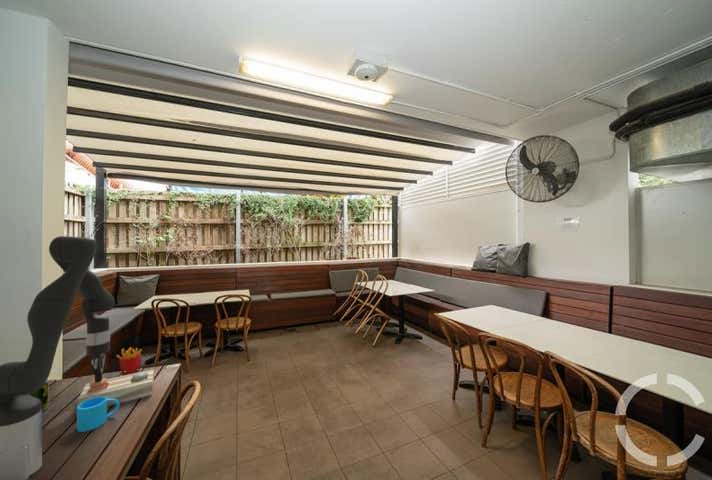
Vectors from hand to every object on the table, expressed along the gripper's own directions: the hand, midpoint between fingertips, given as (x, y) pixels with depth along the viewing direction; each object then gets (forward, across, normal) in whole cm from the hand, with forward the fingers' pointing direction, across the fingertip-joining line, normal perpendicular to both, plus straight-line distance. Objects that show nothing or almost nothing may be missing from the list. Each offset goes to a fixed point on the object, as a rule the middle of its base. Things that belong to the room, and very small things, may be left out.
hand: (98, 381), depth 118 cm
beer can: (+9, +6, +19) cm, 22 cm away
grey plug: (+8, 0, -14) cm, 16 cm away
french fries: (+9, +19, -9) cm, 23 cm away
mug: (+9, -18, -3) cm, 20 cm away
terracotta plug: (+7, 0, 0) cm, 7 cm away
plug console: (+9, 0, -7) cm, 11 cm away
